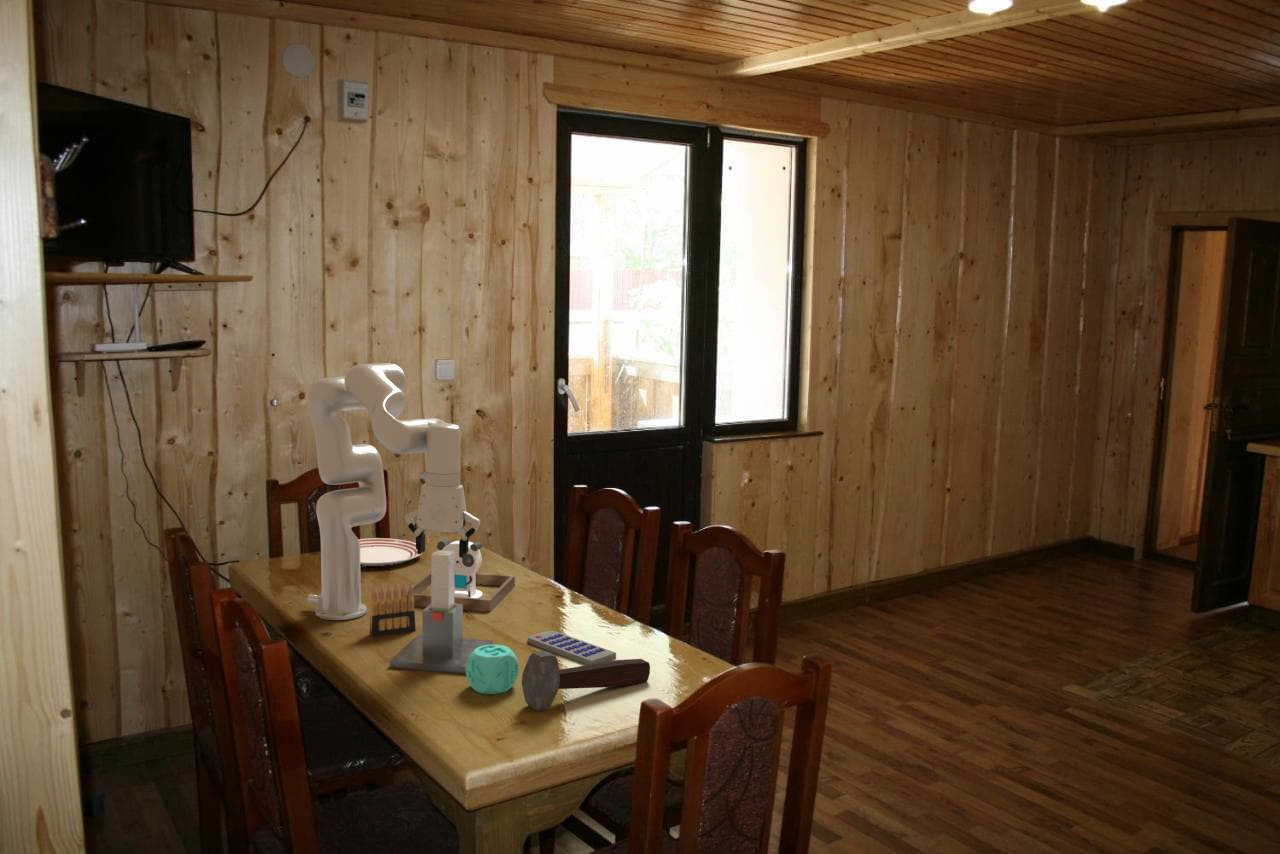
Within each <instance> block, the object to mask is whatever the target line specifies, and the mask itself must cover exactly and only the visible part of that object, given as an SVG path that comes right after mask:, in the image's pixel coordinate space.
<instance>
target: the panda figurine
mask: <svg viewBox="0 0 1280 854" xmlns="http://www.w3.org/2000/svg"><path fill="white" fill-rule="evenodd" d="M459 541H460V540H455V541H452V542H451V540H450V539H449V538H445V539H442V540H441V541H439V542H437V545H436V548H437V550H442V551H455V569H454V597H467V598H481V599H482V597H483V591H481V590H479V589H477V587H476V586H477V584H476V573H478V571H479V570H480V568H481V566H482V563H483V561H482V560H483V557H482V554H481V551H480V549H482V548H483V544H482V542H481V541H475V542H472V541H469V543H468V553H466V555H465V556H464V557H463V558H460V557H459Z"/></svg>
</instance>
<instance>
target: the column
mask: <svg viewBox="0 0 1280 854" xmlns="http://www.w3.org/2000/svg"><path fill="white" fill-rule="evenodd" d="M430 558H431V559H430V560H431V563H430V564H431V567H430V568H431V569H430V572H431V585H430V587H431V589H430V591H431V592H430V595H431V610H436V611H449V612H450V611H451V610H452V609H453V608H454V607H455V603H454V569H455V551H442V550H438V549H437V550H436V551H435V552H433V553H431V557H430Z"/></svg>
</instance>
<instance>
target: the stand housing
mask: <svg viewBox="0 0 1280 854" xmlns="http://www.w3.org/2000/svg"><path fill="white" fill-rule="evenodd" d="M463 611H464V610H463V604H457V603H455V607H454V608H453V609H452V610H451V611H450V612H449V611H436V610H431V604H430V605H429V606H428V607H424V609H423V610H422V613H421V615H422V621H421V622H422V632H421V633H422V634H417V635H416V636H415V637H414V638H413V639H412V640H411V641H410V642H408V644H406V645H405V646H404V647H403V648H402V649H401V650H400V651H398V652H397V653H396V654H395V655H394V656H393V657H392V658H391V659H390V660H389V668H392V669H405V670H415V671H426V672H427V671H429V672H440V673H441V672H442V673H453V674H463V675H464V674H465V675H466V664H467V660H468V658H469V656H470V655H471V653H472V652H473V651H474V650H475V649H476V648H478V647H480V646H484V645H494V644H493V641H494V640H493V639H483V638H470V637H469V638H467V637H463V631H464V630H463V628H464V627H463V626H464V625H463V624H464V623H463V622H464V619H463V617H464V616H463V615H464V612H463Z"/></svg>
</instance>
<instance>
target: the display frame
mask: <svg viewBox="0 0 1280 854" xmlns="http://www.w3.org/2000/svg"><path fill="white" fill-rule="evenodd" d="M430 584H431V571H429V572H428V573H427V574H426V575H424V576H423V577H422V578H420V579H419V580H417V581H416V582H415V583H414V584H412V586H413V596H414V607H424V608H427V607H428V606H429V605H430V604H431V594H424V593H423V594H422V592H423V591H425V590H426V589H427V588H428V587H430V586H431V585H430ZM480 584H482V585H483V586H494V585H496V586H497V587H498V588H497V590H495V591H494V592H493V593H492V594H491V595H490V596H489V597H488V598H482V597H481V598H467V597H454V603H457V604H463V611H476V612H492V611H493V609H494V608H496V607H497V606H498V604H500V602H501V601H502V600H504V598H505V597H506V596H507V595H508V594H509V593H510V591H512V590H513V589H514V588H515V587H516V575H513V574H499V573H498V574H497V573H486V572H485V573H484V572H476V585H480ZM429 585H430V586H429ZM427 586H428V587H427ZM514 586H515V587H514ZM426 587H427V588H426ZM425 588H426V589H425ZM424 589H425V590H424ZM421 591H422V592H421ZM420 592H421V593H420ZM419 593H420V594H419ZM406 599H408V588H407V589H406Z"/></svg>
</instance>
